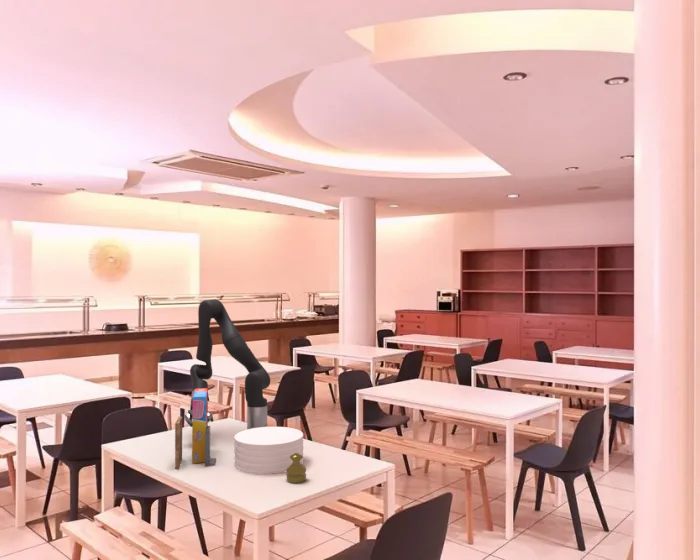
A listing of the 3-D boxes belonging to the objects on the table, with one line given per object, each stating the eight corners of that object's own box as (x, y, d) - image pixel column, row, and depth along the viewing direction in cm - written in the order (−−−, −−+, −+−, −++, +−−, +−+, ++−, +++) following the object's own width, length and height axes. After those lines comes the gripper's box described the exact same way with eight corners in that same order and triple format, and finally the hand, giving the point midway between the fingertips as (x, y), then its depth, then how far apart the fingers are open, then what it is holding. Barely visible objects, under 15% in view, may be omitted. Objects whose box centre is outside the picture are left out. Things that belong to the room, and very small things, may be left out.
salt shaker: (289, 484, 203) (289, 457, 203) (283, 478, 210) (283, 451, 210) (308, 482, 206) (308, 454, 206) (302, 475, 213) (302, 449, 213)
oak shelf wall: (182, 459, 233) (182, 416, 233) (179, 468, 221) (179, 423, 221) (178, 459, 233) (178, 416, 233) (175, 469, 221) (175, 423, 221)
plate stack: (230, 456, 237) (230, 429, 238) (294, 450, 247) (294, 424, 247) (239, 477, 211) (239, 447, 211) (310, 469, 220) (310, 440, 220)
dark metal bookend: (216, 459, 234) (216, 425, 234) (215, 465, 225) (215, 430, 225) (206, 459, 233) (206, 426, 233) (205, 466, 224) (205, 431, 225)
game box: (205, 463, 228) (206, 396, 229) (192, 463, 227) (192, 397, 227) (207, 448, 249) (207, 387, 249) (195, 449, 247) (195, 388, 248)
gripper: (183, 396, 256) (180, 430, 244) (213, 395, 259) (211, 428, 247) (185, 405, 261) (182, 439, 249) (214, 404, 264) (212, 437, 252)
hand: (196, 433), depth 248 cm, fingers closed
